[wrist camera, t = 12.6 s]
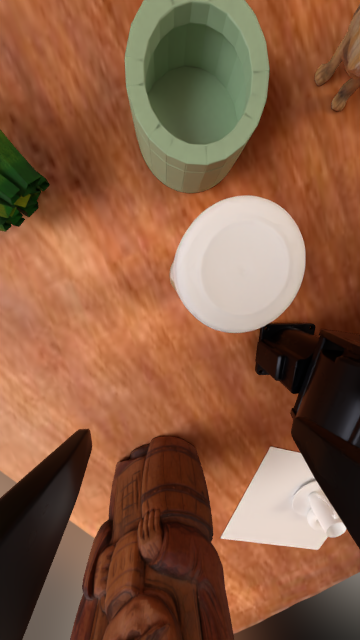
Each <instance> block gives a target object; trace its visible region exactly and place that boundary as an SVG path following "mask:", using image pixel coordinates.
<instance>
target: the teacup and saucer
mask: <svg viewBox="0 0 360 640" xmlns="http://www.w3.org/2000/svg"><path fill="white" fill-rule="evenodd" d="M291 507H292V509H293V511H294V512H295V513H296V514H297V515H299V516H301V517H306V520H307V523H308V525H309V526H310V527H311V528H312V529H313V530H314V531H317V532H324V533H325V535H326V536H327V537H337V536H340V535H342V534H343V533H344V532H345V531H346V529H347V528H346V527H345V525H344V524H343V522H342V521H341V519H340V517H339V516H338V514H337V513H336V511H335V510H334V508H333V506H332V505H331V503H330V502H329V500H328V499H327V497H326V495H325V494H324V492H323V491H322V489H321V488H320V486H319V484H318V483H317V481H316V480H314V481H311V482H309V483H307V484H305V485H303V486H302V487H301V488H300V489H299V490H298V491H297V492H296V493H295V494H294V496H293V498H292V501H291Z"/></svg>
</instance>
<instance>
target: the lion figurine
mask: <svg viewBox="0 0 360 640" xmlns="http://www.w3.org/2000/svg"><path fill="white" fill-rule="evenodd" d="M342 60H343V61H344V66H345V71H346V72H347V73H348V75H349V77H352V78H351V79H350V80H348V81H347V82H346V83H345V84H344V85H343V86H342V87H341V88H340V90H339V92H338V94H337V95H336V96H335V97H334V99H333V101H332V103H331V104H332V109H333V110H335V111H341V110H342V109H343V108H344V106H345V104H346V101H347V100H348V98H349V97H350V96H351V95H352V94H353V92H354V91H355V90H356V89H357V88H358V87H360V5H359V7H358V8H357V10H356V12H355V13H354V16H353V19H352V21H351V23H350V25H349V28H348V32H347V33H346V35H345V37H344V38H343V40H342V42H341V43H340V45H339V46H338V48H337V50H336V51H335V53H334V55H333V57H332V58H331V60H330V61H329V62H328V63H326V64H322V65H320V66H319V68H318V69H317V71H316V74H315V82H316V84H317V85H318V86H320V85H322V84H324V83H325V82H326V81H327V80H329V79H330V78H331V77H332V75H333V73H334V72H335V70H336V69H337V67H338V66H339V64H340V63H341V62H342Z"/></svg>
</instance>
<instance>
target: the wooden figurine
mask: <svg viewBox="0 0 360 640" xmlns="http://www.w3.org/2000/svg"><path fill="white" fill-rule="evenodd" d="M212 536H213V525H212V515H211V508H210V501H209V495H208V490H207V486H206V481H205V477H204V473H203V470H202V467H201V463H200V460H199V457H198V454H197V451H196V449H195V447H194V446H193V445H191V444H189V443H187V442H186V441H184V440H183V439H180V438H175V437H172V436H165V437H157V438H154V439H152V441H151V443H150V444H149V445H144V446H141V447H140V448H138V449H135V450H133V451H132V452H131V455H130V459H129V460H126V461H122V462H118V463H117V465H116V470H115V475H114V480H113V484H112V491H111V498H110V506H109V520H107V521H106V522H105V523H104V524H103V525H102V526H101V527H100V529H99V531H98V533H97V535H96V537H95V539H94V542H93V546H92V549H91V552H90V555H89V559H88V563H87V567H86V570H85V574H84V579H83V585H82V589H83V596H82V599H81V602H80V605H79V608H78V612H77V615H76V619H75V622H74V626H73V630H72V634H71V638H70V640H234V635H233V630H232V624H231V618H230V613H229V607H228V602H227V596H226V591H225V584H224V573H223V567H222V564H221V561H220V558H219V556H218V553H217V551H216V550H215V548H214V546H213V545H212V543H211V541H212V539H213V538H212Z"/></svg>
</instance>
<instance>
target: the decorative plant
mask: <svg viewBox="0 0 360 640" xmlns="http://www.w3.org/2000/svg"><path fill="white" fill-rule="evenodd" d="M49 185H50V184H49V183H48V181H47V180H46V179H45V178H44V177H43V176H42V175H40V174H39V173H38V172H37V171H35V169H34V168H33V167H32V166H31V165H30V164H29V163H28V162H27V160H26V159H25V158H24V157H23V156H22V155H21V154H20V153H19V151H18V150H17V149H16V148H15V147H14V146H13V144H12V143H11V142H10V141H9V140H8V138H7V137H6V136H5V135H4V134H3V132H2V131H1V130H0V231H7V230H8V229H9V228H10V227H11V224H12V225H14V226H18V227H19V226H20V225H21V224H22V223H23V221H24V220H25V219H24V218H22V216H23V215H22V214H24V215H26V216H28V217H30V216H31V215H32V214H33V213H34V212H35V211H36V210H37V209H38V202H37V199H38V197H39V195H40V193H41V190H42V191H44V190H45V189H46V188H47V187H48V186H49ZM20 212H21V213H22V214H21V213H20Z"/></svg>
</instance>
